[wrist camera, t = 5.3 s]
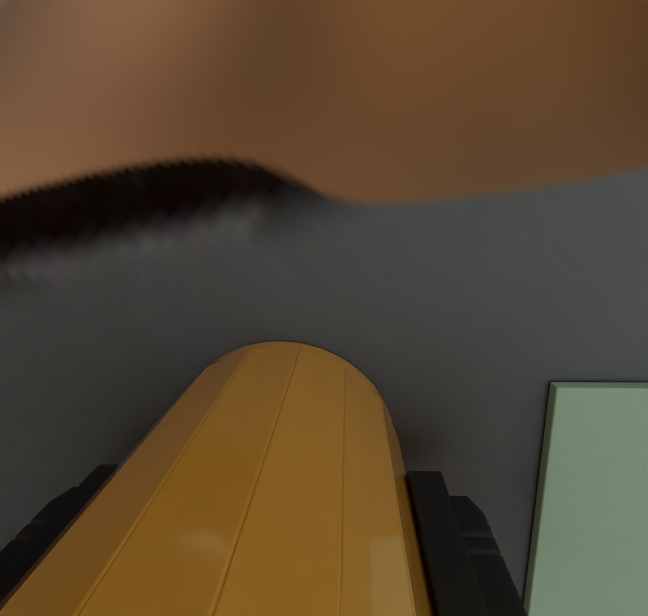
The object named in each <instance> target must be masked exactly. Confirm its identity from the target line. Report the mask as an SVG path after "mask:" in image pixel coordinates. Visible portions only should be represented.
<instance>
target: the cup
mask: <svg viewBox="0 0 648 616" xmlns="http://www.w3.org/2000/svg"><path fill="white" fill-rule="evenodd" d="M0 616H435V615H434V610H433V606H432V601H431V596H430V591H429V586H428V581H427V576H426V571H425V567H424V562H423V557H422V552H421V547H420V542H419V537H418V532H417V527H416V523H415V518H414V513H413V508H412V503H411V498H410V493H409V488H408V483H407V479H406V474H405V469H404V464H403V459H402V454H401V449H400V444H399V440H398V437H397V434H396V432H395V430H394V426H393V421H392V418H391V416H390V413H389V410H388V408H387V406H386V404H385V402H384V400H383V398H382V396H381V395H380V394H379V392H378V391H377V389H376V388H375V387H374V385H373V384H372V383H371V382H370V381H369V380H368V379H367V378H366V377H365V375H364V374H363V373H361V372H360V371H359V370H358V369H356V368H355V367H354V366H353V365H352V364H350V363H348V362H347V361H345V360H344V359H342V358H340V357H339V356H337V355H335V354H333V353H330V352H328V351H326V350H324V349H320V348H317V347H314V346H311V345H307V344H302V343H296V342H284V341H274V342H262V343H257V344H252V345H247V346H244V347H241V348H238V349H235V350H233V351H231V352H229V353H227V354H225V355H223V356H221V357H220V358H218V359H217V360H215V361H214V362H212V363H211V364H209V365H208V366H207V367H206V368H205V369H204V370H203V371H202V372H201V373H200V374H199V375H198V376H197V377H196V378H195V379H194V381H193V382H192V383H191V384H190V385H189V386H188V387H187V388H186V389H185V390H184V391H183V392H182V393H181V394H180V395H179V396H178V398H177V399H176V400H175V401H174V402H173V403H172V404H171V406H170V407H169V408H168V409H167V410H166V411H165V413H164V414H163V415H162V416H161V417H160V418H159V420H158V421H157V422H156V423H155V424H154V425H153V426H152V428H151V429H150V430H149V431H148V432H147V433H146V435H145V436H144V437H143V438H142V439H141V440H140V442H139V443H138V444H137V445H136V446H135V447H134V448H133V450H132V451H131V452H130V453H129V454H128V455H127V457H126V458H125V459H124V460H123V461H122V462H121V464H120V465H119V466H118V467H117V468H116V469H115V470H114V472H113V473H112V474H111V475H110V476H109V477H108V479H107V480H106V481H105V482H104V483H103V484H102V486H101V487H100V488H99V489H98V490H97V491H96V492H95V494H94V495H93V496H92V497H91V498H90V499H89V501H88V502H87V503H86V504H85V505H84V506H83V508H82V509H81V510H80V511H79V512H78V513H77V514H76V516H75V517H74V518H73V519H72V520H71V521H70V523H69V524H68V525H67V526H66V527H65V528H64V530H63V531H62V532H61V533H60V534H59V535H58V536H57V538H56V539H55V540H54V541H53V542H52V543H51V545H50V546H49V547H48V548H47V549H46V550H45V552H44V553H43V554H42V555H41V556H40V557H39V558H38V560H37V561H36V562H35V563H34V564H33V565H32V567H31V568H30V569H29V570H28V571H27V572H26V574H25V575H24V576H23V577H22V578H21V579H20V580H19V582H18V583H17V584H16V585H15V586H14V587H13V589H12V590H11V591H10V592H9V593H8V594H7V596H6V597H5V598H4V599H3V600H2V601H1V602H0Z"/></svg>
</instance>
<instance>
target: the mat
mask: <svg viewBox="0 0 648 616" xmlns="http://www.w3.org/2000/svg"><path fill="white" fill-rule="evenodd" d="M523 606H524V609H525V611H526V613H527V616H648V383H634V382H551V383H550V390H549V398H548V406H547V415H546V423H545V431H544V439H543V448H542V456H541V464H540V473H539V481H538V489H537V498H536V506H535V514H534V522H533V531H532V539H531V547H530V556H529V564H528V572H527V580H526V589H525V597H524V605H523Z"/></svg>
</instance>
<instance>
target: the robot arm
mask: <svg viewBox="0 0 648 616" xmlns="http://www.w3.org/2000/svg"><path fill="white" fill-rule="evenodd" d="M118 466H119V465H108V464H102V465H99V466H98V467H96V468H95V469H94V470H93V471H92V473H91V474H90V475H89V476H88V477H87V478H86V479H85V480H84V481H83V482H82V483H81V484H80V485H79V486H78V487H72V488H71V489H69V490H68V491H66V492H64V493H63V494H61V495H60V496H58V497H57V498H55V499H53V500H52V501H50V502H49V503H48V504H47V505H46V506H45V507H44V508H43V509H42V510H41V511H40V512H39V513H38V514H37V515H36V516H35V517H34V518H33V519H32V520H31V524H27V525H26V526H25V527H24V528H23V529H22V530H21V531H20V532H19V533H18V534H17V535H16V539H15V540H11V542H10V543H9V544H8V545H7V546H6V547H5V548H4V549H3V550H2V551H1V552H0V602H1V601H2V600H3V599H4V598H5V597H6V596H7V594H8V593H9V592H10V591H11V590H12V589H13V587H14V586H15V585H16V584H17V583H18V582H19V580H20V579H21V578H22V577H23V576H24V575H25V574H26V572H27V571H28V570H29V569H30V568H31V567H32V565H33V564H34V563H35V562H36V561H37V560H38V558H39V557H40V556H41V555H42V554H43V553H44V552H45V550H46V549H47V548H48V547H49V546H50V545H51V543H52V542H53V541H54V540H55V539H56V538H57V536H58V535H59V534H60V533H61V532H62V531H63V530H64V528H65V527H66V526H67V525H68V524H69V523H70V521H71V520H72V519H73V518H74V517H75V516H76V514H77V513H78V512H79V511H80V510H81V509H82V508H83V506H84V505H85V504H86V503H87V502H88V501H89V499H90V498H91V497H92V496H93V495H94V494H95V492H96V491H97V490H98V489H99V488H100V487H101V486H102V484H103V483H104V482H105V481H106V480H107V479H108V477H109V476H110V475H111V474H112V473H113V472H114V470H115V469H116V468H117V467H118ZM406 479H407V483H408V488H409V493H410V498H411V503H412V508H413V513H414V518H415V523H416V527H417V532H418V537H419V542H420V547H421V552H422V557H423V562H424V567H425V571H426V576H427V581H428V586H429V591H430V596H431V601H432V606H433V610H434V615H435V616H527V613H526V611H525V609H524V606H523V604H522V602H521V599H520V597H519V595H518V592H517V590H516V588H515V585H514V583H513V581H512V578H511V576H510V573H509V571H508V569H507V566H506V564H505V562H504V559H503V557H502V556H501V555H500V550H499V548H498V545H497V543H496V541H495V538H493V534H492V531H491V529H490V527H489V524H488V522H487V520H486V517H485V515H484V513H483V512H482V511H481V510H480V509H479V508H478V507H477V506H476V505H475V504H474V503H473V502H472V501H471V500H470V499H469V498H468V497H467V496H449V494H448V491H447V488H446V485H445V482H444V479H443V476H442V474H441V472H440V471H407V474H406Z"/></svg>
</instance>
